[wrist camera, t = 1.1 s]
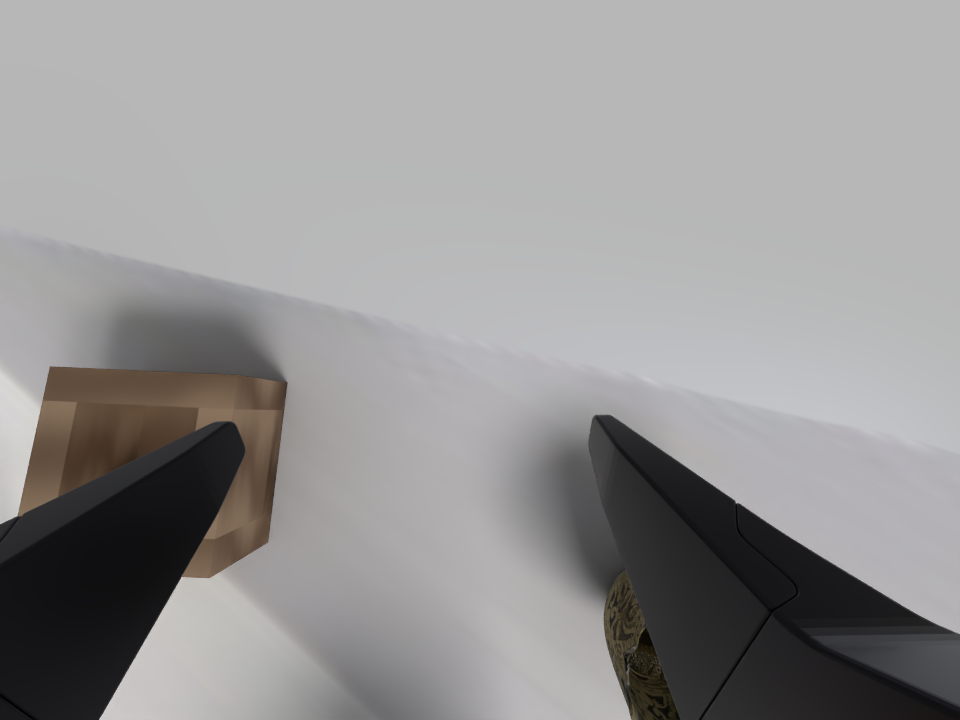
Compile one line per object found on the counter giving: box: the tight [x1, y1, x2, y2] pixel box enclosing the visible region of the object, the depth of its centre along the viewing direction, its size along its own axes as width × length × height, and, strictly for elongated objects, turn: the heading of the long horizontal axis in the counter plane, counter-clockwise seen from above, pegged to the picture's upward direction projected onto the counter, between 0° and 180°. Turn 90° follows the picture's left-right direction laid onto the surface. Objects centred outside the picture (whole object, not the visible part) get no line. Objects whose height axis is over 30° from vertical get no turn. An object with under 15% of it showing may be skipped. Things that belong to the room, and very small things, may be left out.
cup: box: [604, 570, 681, 720], centre depth 18 cm, size 8×7×8 cm
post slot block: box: [18, 367, 287, 578], centre depth 21 cm, size 10×10×5 cm
